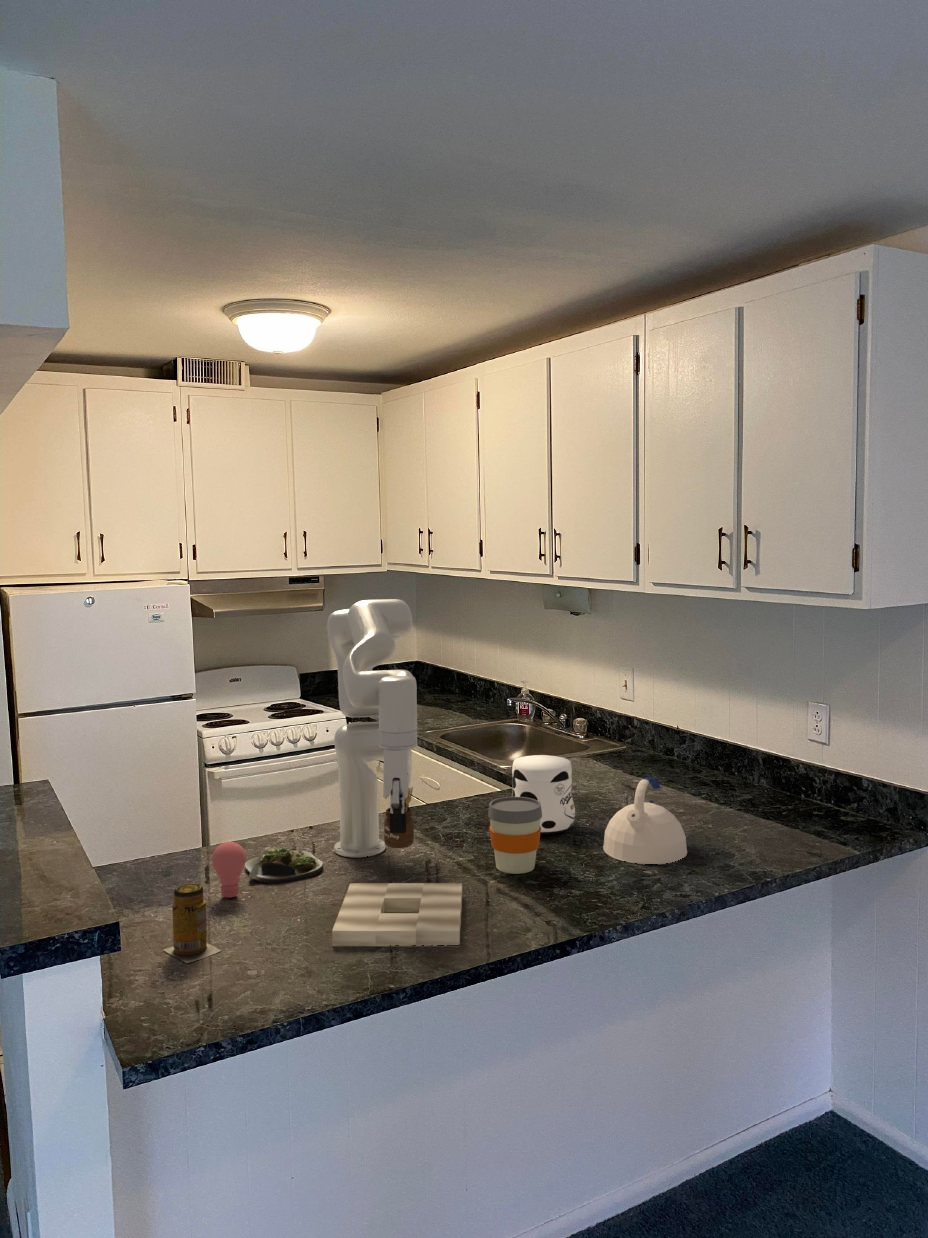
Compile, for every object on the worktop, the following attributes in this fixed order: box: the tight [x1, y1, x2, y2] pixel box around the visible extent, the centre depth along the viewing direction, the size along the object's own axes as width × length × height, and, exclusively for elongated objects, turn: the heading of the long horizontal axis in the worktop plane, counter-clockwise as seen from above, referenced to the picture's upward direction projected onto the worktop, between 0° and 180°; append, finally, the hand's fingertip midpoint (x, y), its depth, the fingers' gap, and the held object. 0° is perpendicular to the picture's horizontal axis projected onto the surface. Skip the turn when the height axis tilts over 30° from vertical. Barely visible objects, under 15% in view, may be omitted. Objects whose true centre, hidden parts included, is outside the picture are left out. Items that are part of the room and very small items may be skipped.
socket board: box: [331, 882, 463, 947], centre depth 185 cm, size 24×24×3 cm
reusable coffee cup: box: [487, 796, 542, 875], centre depth 214 cm, size 13×12×15 cm
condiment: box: [163, 883, 222, 964], centre depth 172 cm, size 7×8×12 cm
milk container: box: [511, 754, 576, 835], centre depth 242 cm, size 17×17×18 cm
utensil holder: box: [383, 787, 415, 849], centre depth 183 cm, size 6×6×12 cm
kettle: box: [602, 776, 688, 865], centre depth 224 cm, size 20×21×18 cm
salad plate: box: [244, 847, 324, 884], centre depth 215 cm, size 19×18×5 cm
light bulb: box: [211, 841, 247, 899], centre depth 198 cm, size 7×7×12 cm
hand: (399, 826), depth 184 cm, fingers closed on utensil holder, 5 cm apart
